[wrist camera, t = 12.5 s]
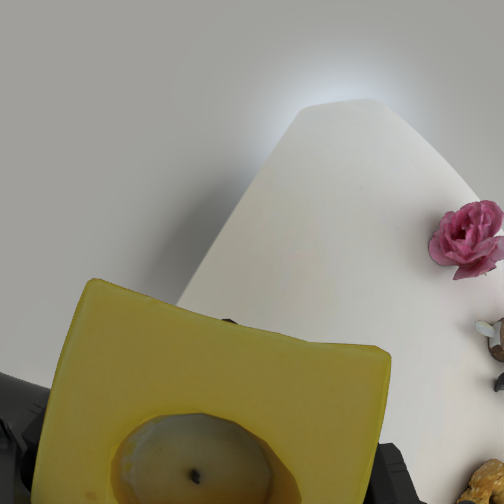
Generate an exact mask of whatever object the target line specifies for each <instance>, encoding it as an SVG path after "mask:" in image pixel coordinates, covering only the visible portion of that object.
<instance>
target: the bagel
mask: <svg viewBox="0 0 504 504" xmlns="http://www.w3.org/2000/svg"><path fill="white" fill-rule="evenodd" d="M463 500H470V501H473V502H475V503H476V504H504V463H503V462H501V461H498V460H497V459H490V460H489V461H487V462H486V463H484V464H483V465H482V466H481V467H480V468H479V469H478V470H477V471H475V472H474V474H473V475H472V477H471V480H470V482H469V488H468V489H467V491H465V492H464V493H463V494H462V495H461V497H460V498H459V499H458V500H457V503H459V502H460V501H463ZM457 503H456V504H457Z"/></svg>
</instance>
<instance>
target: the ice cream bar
mask: <svg viewBox="0 0 504 504" xmlns="http://www.w3.org/2000/svg"><path fill="white" fill-rule="evenodd" d="M475 328H476V330H477V331H478V332H479V333H480V334H481V335H484V336H488V337H489V338H488V339H489V350H490V352H491V354H492V356H493V357H494V358H495V359H497V360H499V361H501V362H504V318H501V319H500V320H499V321H497V322H496V323H495V324H494V325H493V326H490V325H489V324H487V323H486V322H484V321H480V320H478V321H476V322H475Z"/></svg>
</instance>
